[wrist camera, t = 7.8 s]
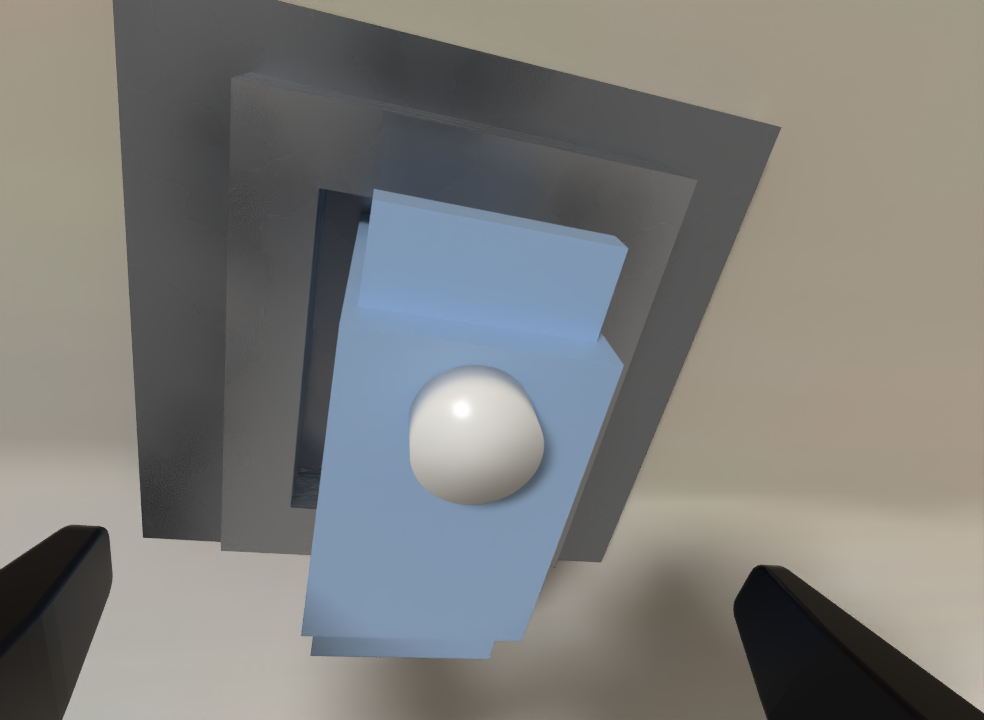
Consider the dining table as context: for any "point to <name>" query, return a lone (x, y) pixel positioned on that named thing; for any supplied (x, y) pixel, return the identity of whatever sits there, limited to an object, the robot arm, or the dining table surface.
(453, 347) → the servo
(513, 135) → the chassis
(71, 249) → the dining table surface
